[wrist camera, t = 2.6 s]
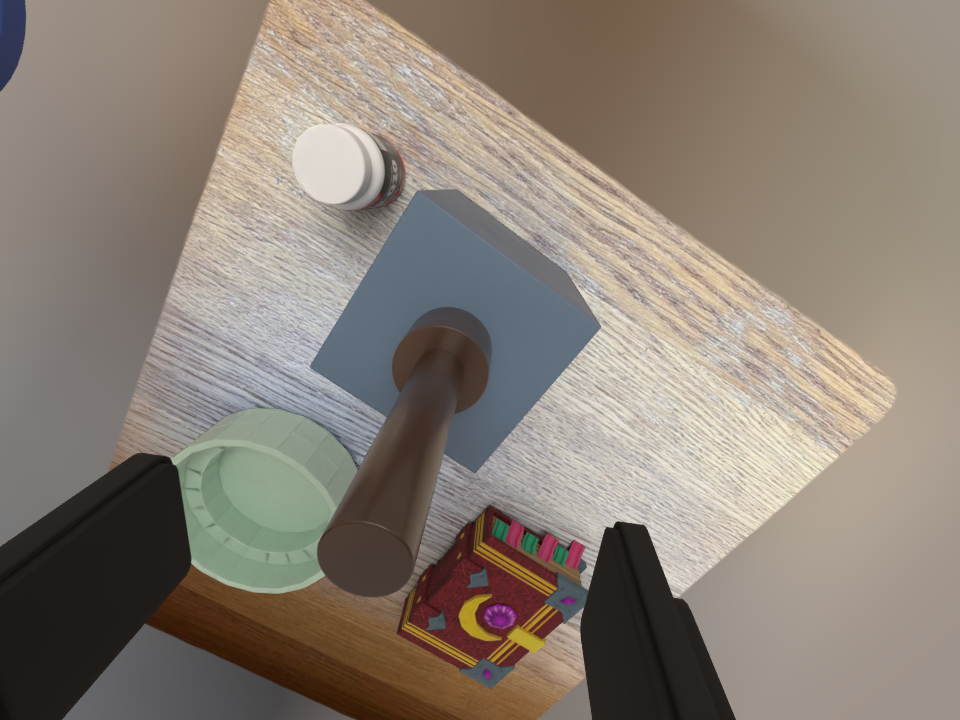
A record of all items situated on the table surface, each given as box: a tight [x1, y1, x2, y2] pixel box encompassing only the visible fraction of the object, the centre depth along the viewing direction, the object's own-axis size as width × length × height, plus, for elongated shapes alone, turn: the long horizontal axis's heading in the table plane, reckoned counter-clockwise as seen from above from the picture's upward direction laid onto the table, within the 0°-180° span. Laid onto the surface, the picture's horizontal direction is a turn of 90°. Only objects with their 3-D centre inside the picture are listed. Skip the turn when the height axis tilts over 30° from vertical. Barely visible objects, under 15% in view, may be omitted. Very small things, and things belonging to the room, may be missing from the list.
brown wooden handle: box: [317, 307, 492, 597], centre depth 15 cm, size 4×4×13 cm
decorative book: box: [397, 506, 588, 689], centre depth 42 cm, size 11×16×5 cm
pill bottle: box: [292, 123, 405, 211], centre depth 28 cm, size 5×5×8 cm
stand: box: [310, 189, 601, 473], centre depth 28 cm, size 10×10×14 cm
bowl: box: [171, 408, 358, 594], centre depth 39 cm, size 15×15×6 cm
